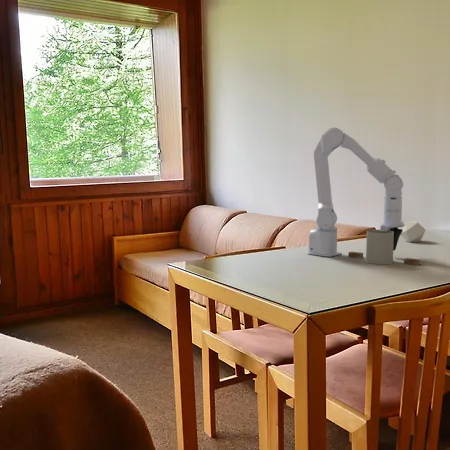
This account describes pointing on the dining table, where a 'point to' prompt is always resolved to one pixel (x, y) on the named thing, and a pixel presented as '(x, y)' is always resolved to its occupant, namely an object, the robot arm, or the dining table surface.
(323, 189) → the robot arm
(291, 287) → the dining table surface
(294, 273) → the dining table surface
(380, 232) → the grey cylinder
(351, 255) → the pair of brown blocks
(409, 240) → the die
